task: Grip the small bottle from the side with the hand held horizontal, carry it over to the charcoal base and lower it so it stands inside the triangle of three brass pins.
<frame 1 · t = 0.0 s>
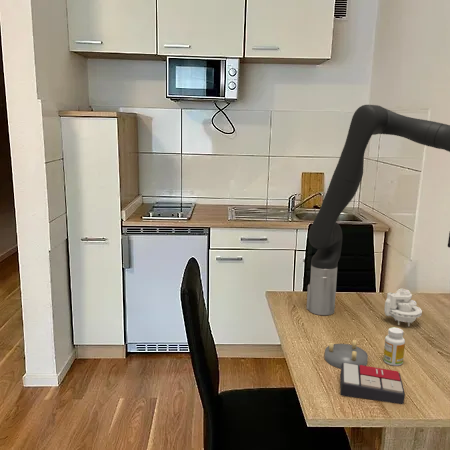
calculator: (370, 390, 121), on the table
mechanical part: (401, 322, 163), on the table
supplement bottle: (392, 362, 135), on the table
pin base: (345, 359, 136), on the table
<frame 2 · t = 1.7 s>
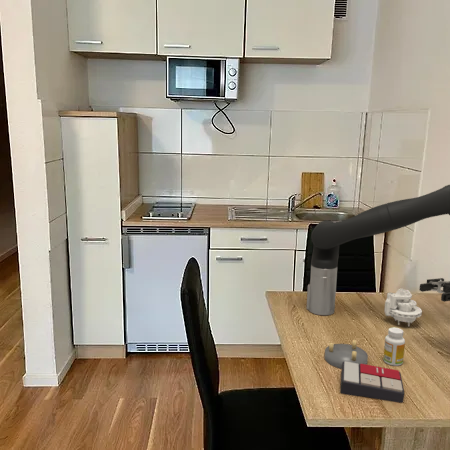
hand: (431, 292, 135), 20 cm above the table, tool horizontal, fingers open, 8 cm apart
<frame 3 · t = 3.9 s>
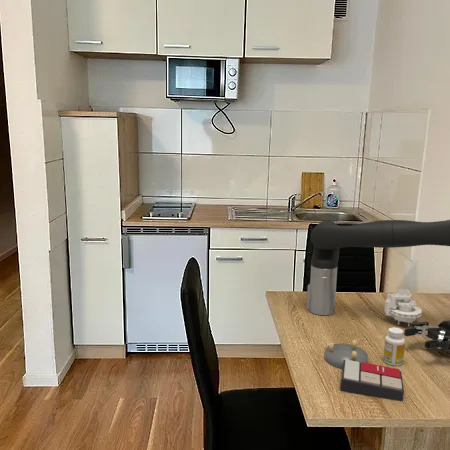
hand: (415, 338, 137), 6 cm above the table, tool horizontal, fingers open, 8 cm apart
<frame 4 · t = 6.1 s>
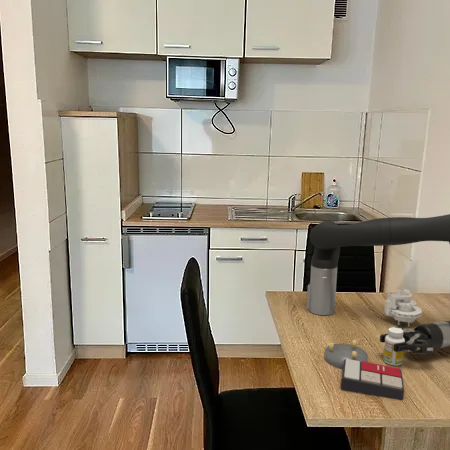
hand: (387, 343, 133), 6 cm above the table, tool horizontal, fingers closed on supplement bottle, 5 cm apart
supplement bottle: (392, 362, 135), on the table, touching gripper
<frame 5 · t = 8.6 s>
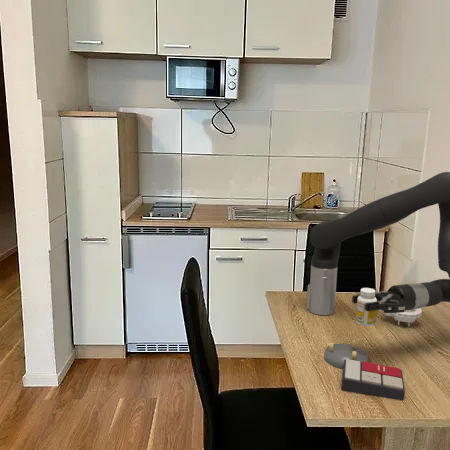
hand: (359, 303, 132), 18 cm above the table, tool horizontal, fingers closed on supplement bottle, 5 cm apart
supplement bottle: (365, 323, 134), point 11 cm above the table, touching gripper
when the fingers open (9 cm above the table, at t = 11.8 s): supplement bottle drops 1 cm, resting on pin base.
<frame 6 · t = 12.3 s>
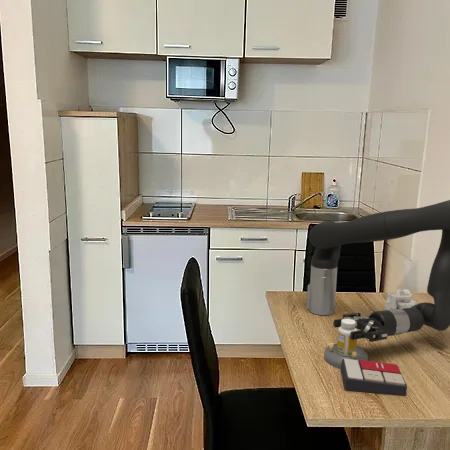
hand: (342, 329, 134), 10 cm above the table, tool horizontal, fingers open, 8 cm apart
calculator: (371, 384, 124), on the table
supplement bottle: (346, 353, 136), point 2 cm above the table, touching pin base
everything else where it was.
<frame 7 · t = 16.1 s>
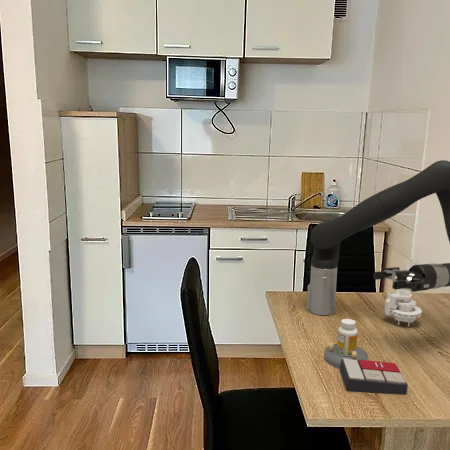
hand: (383, 280, 135), 23 cm above the table, tool horizontal, fingers open, 8 cm apart
nothing on the table moved.
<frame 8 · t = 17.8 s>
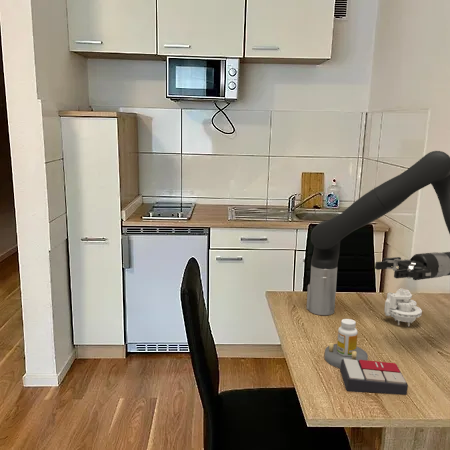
hand: (385, 270, 135), 26 cm above the table, tool horizontal, fingers open, 8 cm apart
nothing on the table moved.
at the end: supplement bottle 0.2 cm off-centre on the pin base, point 1.8 cm above the pin base's base; supplement bottle tilted 0°; the gripper is holding nothing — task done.
